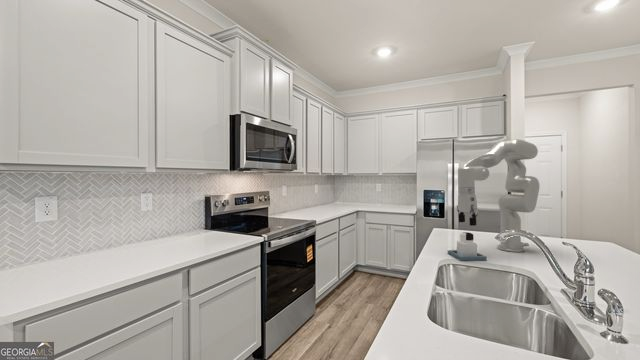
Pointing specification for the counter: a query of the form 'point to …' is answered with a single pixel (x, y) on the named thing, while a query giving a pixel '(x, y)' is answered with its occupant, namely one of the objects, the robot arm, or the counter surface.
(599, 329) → the counter surface
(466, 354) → the counter surface
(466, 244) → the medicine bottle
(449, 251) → the tray
